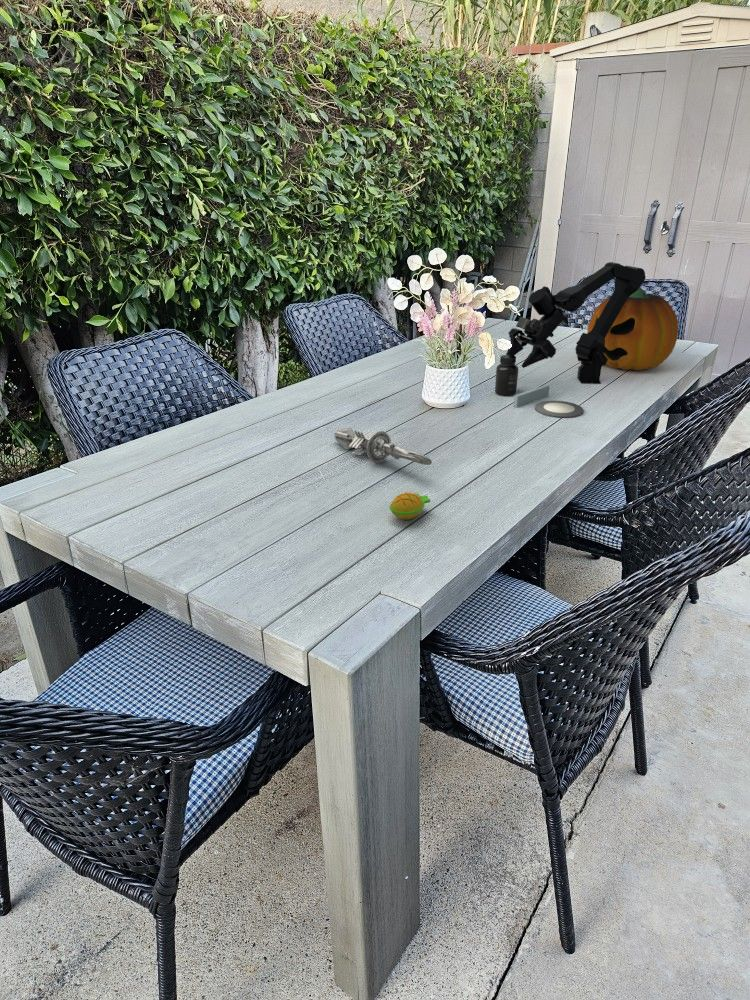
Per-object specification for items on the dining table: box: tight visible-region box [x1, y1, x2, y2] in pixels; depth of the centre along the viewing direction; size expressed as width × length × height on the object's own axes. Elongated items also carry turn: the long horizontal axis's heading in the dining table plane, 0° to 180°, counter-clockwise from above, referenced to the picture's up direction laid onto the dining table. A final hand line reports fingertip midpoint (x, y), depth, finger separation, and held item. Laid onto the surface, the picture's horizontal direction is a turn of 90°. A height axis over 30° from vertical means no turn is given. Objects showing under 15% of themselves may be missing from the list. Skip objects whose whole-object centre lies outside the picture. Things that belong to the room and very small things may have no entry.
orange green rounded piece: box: [389, 491, 431, 521], centre depth 143 cm, size 7×10×5 cm
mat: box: [534, 400, 584, 419], centre depth 204 cm, size 14×14×1 cm
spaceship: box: [333, 427, 433, 466], centre depth 167 cm, size 8×35×8 cm
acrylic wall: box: [513, 384, 550, 408], centre depth 210 cm, size 16×1×4 cm, turn 132°
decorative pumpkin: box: [586, 287, 679, 371], centre depth 241 cm, size 30×30×30 cm
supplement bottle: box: [494, 354, 519, 397], centre depth 215 cm, size 7×7×12 cm
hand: (513, 363), depth 214 cm, fingers open, 9 cm apart
